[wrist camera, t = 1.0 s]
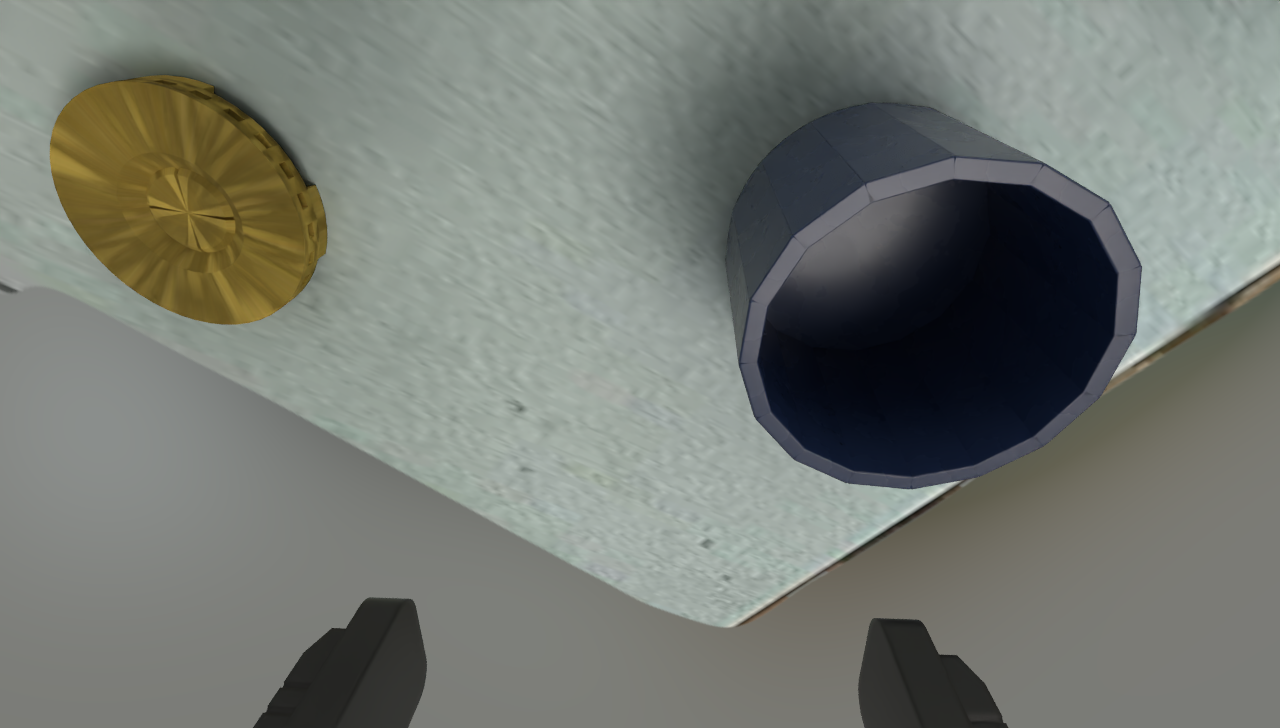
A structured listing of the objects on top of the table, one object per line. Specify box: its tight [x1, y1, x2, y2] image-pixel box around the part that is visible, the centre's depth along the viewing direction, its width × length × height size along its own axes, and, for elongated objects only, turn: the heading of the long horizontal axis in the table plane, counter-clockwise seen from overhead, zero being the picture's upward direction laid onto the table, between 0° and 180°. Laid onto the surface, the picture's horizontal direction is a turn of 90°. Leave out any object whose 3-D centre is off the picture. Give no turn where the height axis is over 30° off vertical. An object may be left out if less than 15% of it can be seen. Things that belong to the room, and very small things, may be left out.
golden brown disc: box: [50, 75, 327, 324], centre depth 30 cm, size 12×12×2 cm
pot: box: [725, 103, 1142, 489], centre depth 26 cm, size 13×13×10 cm
